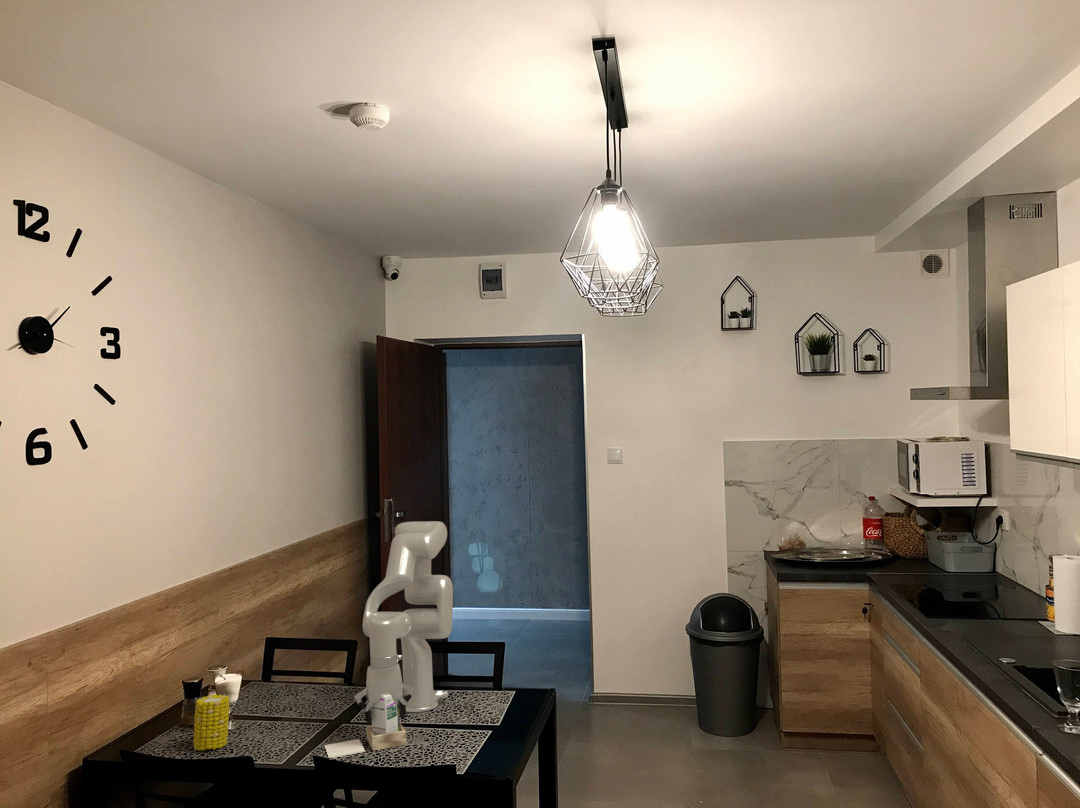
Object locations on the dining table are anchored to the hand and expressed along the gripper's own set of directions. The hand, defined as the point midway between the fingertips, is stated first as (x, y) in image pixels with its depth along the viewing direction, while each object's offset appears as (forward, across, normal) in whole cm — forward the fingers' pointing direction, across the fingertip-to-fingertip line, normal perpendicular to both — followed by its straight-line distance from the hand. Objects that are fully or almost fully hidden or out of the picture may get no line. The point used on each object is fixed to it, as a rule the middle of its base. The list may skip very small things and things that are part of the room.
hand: (385, 720), depth 242 cm
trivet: (+6, +12, 0) cm, 14 cm away
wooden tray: (+6, 0, 0) cm, 6 cm away
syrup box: (+6, 0, 0) cm, 6 cm away
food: (+6, +47, -22) cm, 52 cm away
